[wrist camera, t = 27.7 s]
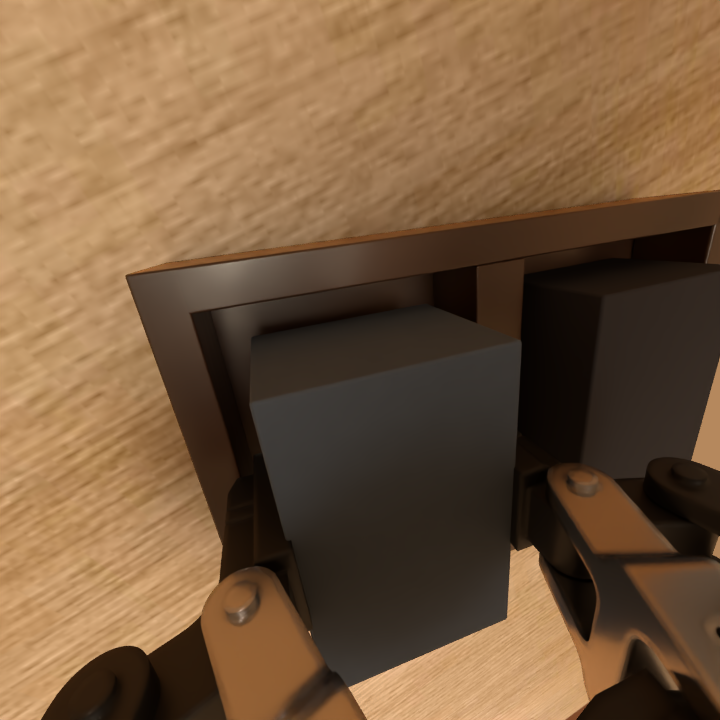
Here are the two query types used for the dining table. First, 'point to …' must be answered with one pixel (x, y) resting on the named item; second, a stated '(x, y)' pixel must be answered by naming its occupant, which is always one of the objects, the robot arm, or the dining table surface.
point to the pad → (392, 477)
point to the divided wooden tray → (374, 298)
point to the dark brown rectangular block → (618, 360)
